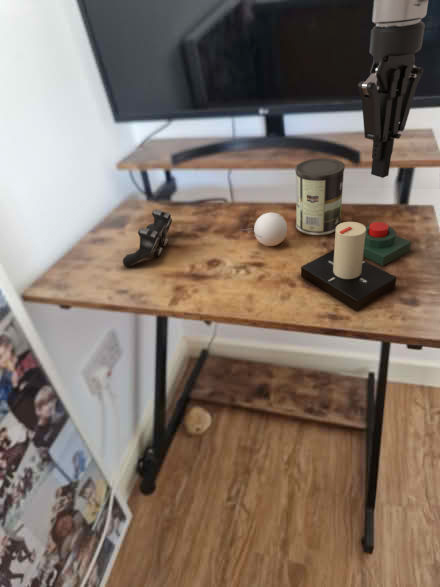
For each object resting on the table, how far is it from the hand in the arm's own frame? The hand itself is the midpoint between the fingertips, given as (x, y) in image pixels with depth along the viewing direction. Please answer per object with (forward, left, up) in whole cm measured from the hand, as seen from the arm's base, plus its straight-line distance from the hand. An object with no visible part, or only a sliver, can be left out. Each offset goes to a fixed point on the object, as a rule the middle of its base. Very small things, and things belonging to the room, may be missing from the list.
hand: (379, 174), depth 75 cm
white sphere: (+17, +14, -16) cm, 28 cm away
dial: (-5, +12, -13) cm, 19 cm away
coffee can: (+15, 0, -16) cm, 22 cm away
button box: (-1, -1, -16) cm, 16 cm away
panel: (-5, +12, -16) cm, 21 cm away
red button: (-1, -1, -12) cm, 12 cm away
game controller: (+33, +35, -16) cm, 51 cm away
